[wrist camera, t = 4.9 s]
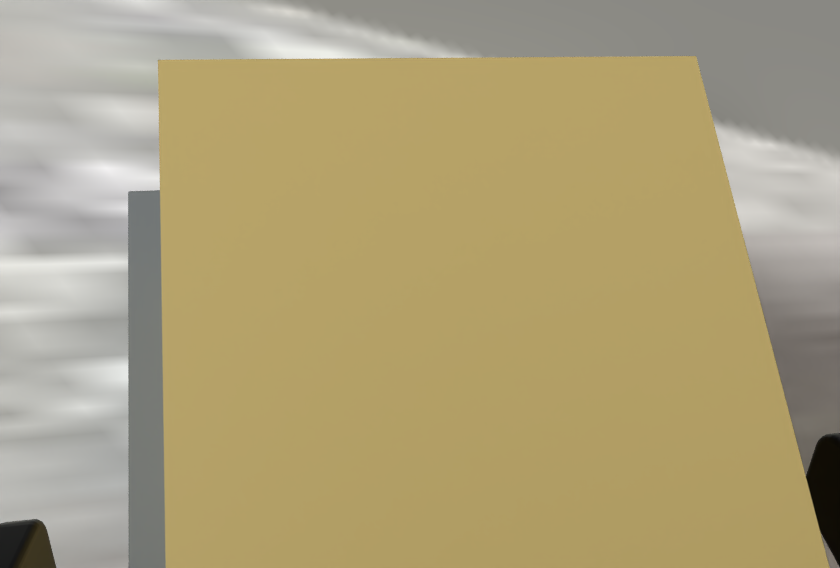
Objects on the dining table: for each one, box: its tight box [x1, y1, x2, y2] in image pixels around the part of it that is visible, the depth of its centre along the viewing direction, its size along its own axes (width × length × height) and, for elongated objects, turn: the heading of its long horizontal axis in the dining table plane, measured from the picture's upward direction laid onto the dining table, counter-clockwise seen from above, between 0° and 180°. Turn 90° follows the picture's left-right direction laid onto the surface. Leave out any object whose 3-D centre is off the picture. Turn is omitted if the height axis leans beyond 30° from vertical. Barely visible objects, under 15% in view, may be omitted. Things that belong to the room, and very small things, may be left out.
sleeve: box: [128, 190, 166, 568], centre depth 15 cm, size 9×9×5 cm
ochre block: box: [158, 56, 829, 568], centre depth 13 cm, size 6×6×11 cm
